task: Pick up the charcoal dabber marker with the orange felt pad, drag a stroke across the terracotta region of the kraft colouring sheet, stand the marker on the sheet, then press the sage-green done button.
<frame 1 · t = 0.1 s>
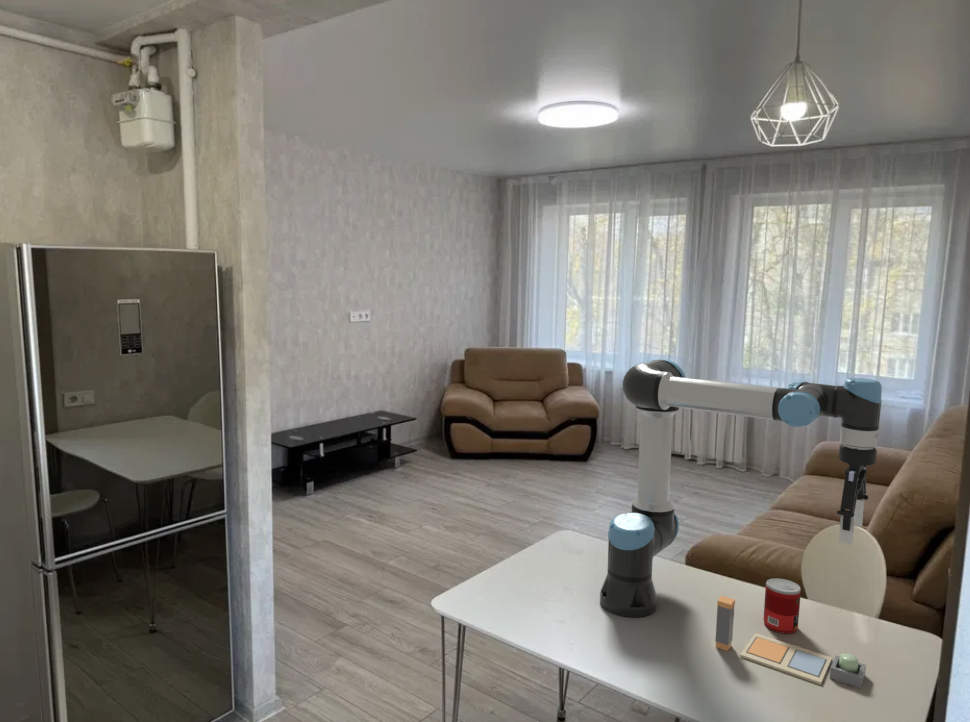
hand: (850, 533, 154), 28 cm above the table, fingers open, 13 cm apart
marker: (723, 646, 157), on the table
sheet: (785, 658, 152), on the table
done button: (848, 663, 145), point 3 cm above the table, slide at 0.0 cm
button collar: (847, 676, 145), on the table
canned food: (780, 626, 166), on the table
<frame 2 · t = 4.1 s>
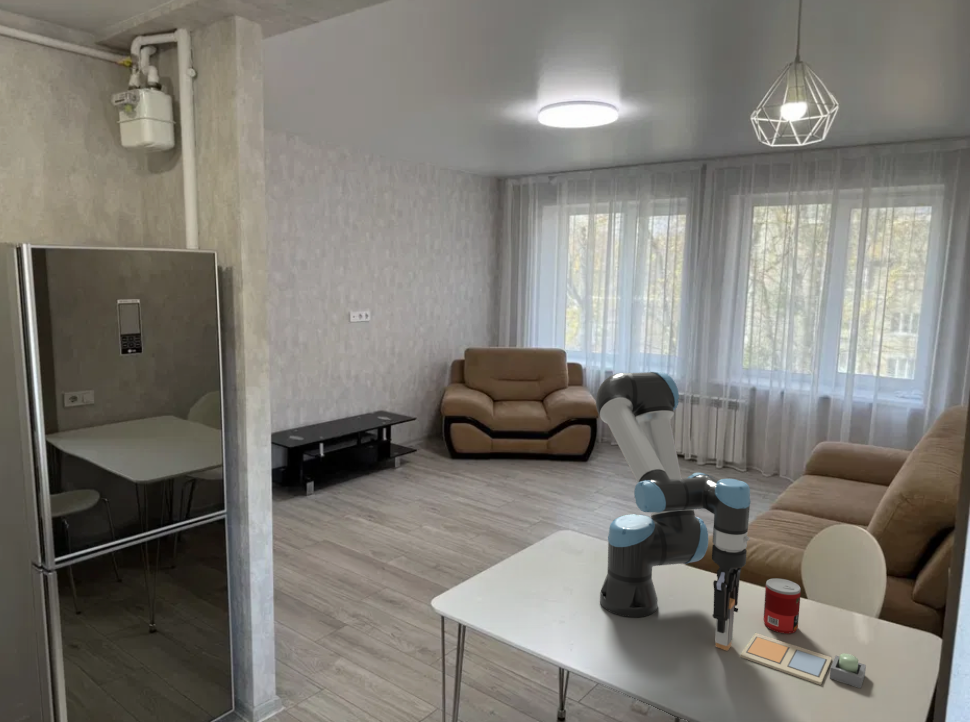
hand: (723, 639, 157), 2 cm above the table, fingers closed on marker, 3 cm apart
marker: (723, 646, 157), on the table, touching gripper
everything else where it was.
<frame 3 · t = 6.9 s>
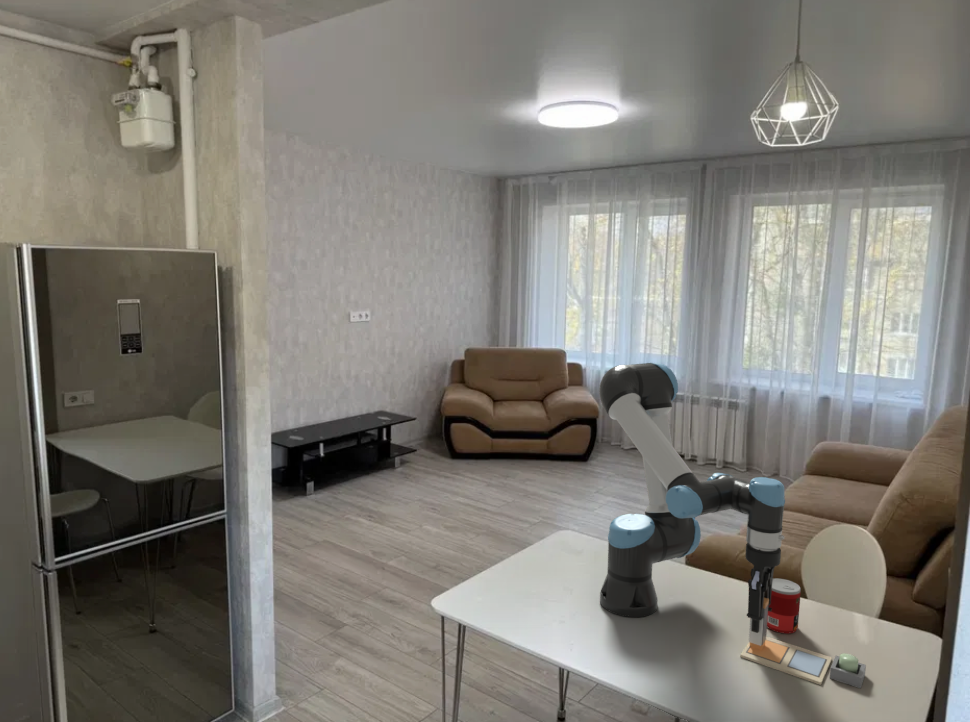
hand: (757, 639, 156), 2 cm above the table, fingers closed on marker, 3 cm apart
marker: (757, 646, 156), point 1 cm above the table, touching gripper, sheet
everything else where it was.
when the fingers open (3 cm above the table, at t = 10.0 s): marker drops 1 cm, resting on sheet.
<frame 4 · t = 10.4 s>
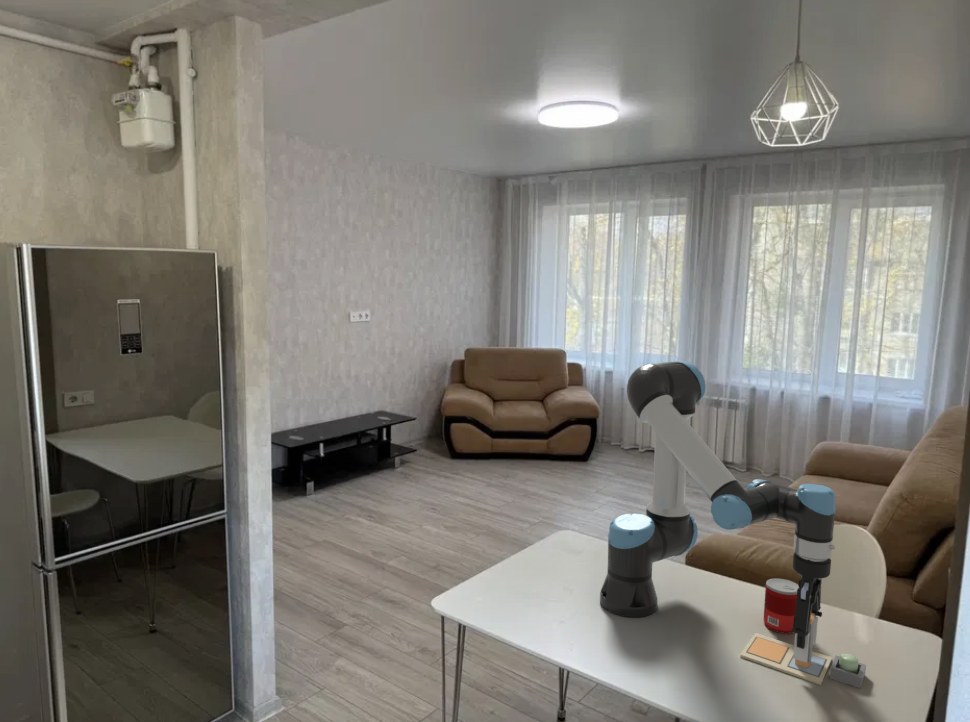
hand: (804, 650, 149), 4 cm above the table, fingers open, 8 cm apart
marker: (803, 663, 149), point 1 cm above the table, touching sheet
everything else where it was.
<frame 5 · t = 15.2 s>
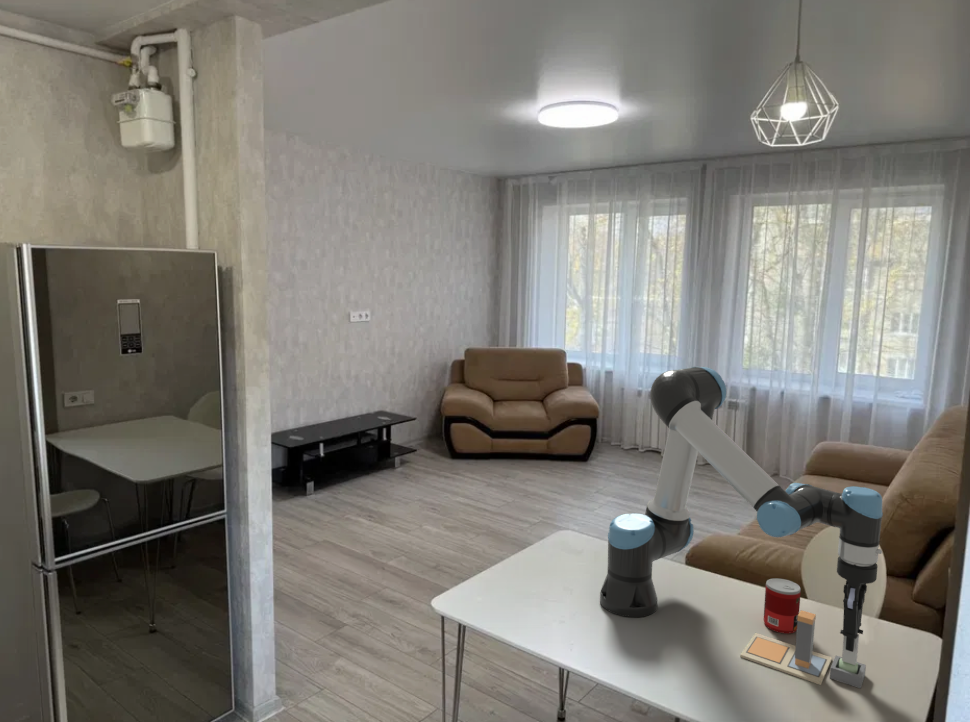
hand: (849, 661, 145), 4 cm above the table, fingers closed
done button: (848, 668, 145), point 2 cm above the table, slide at 1.0 cm, touching gripper
everything else where it was.
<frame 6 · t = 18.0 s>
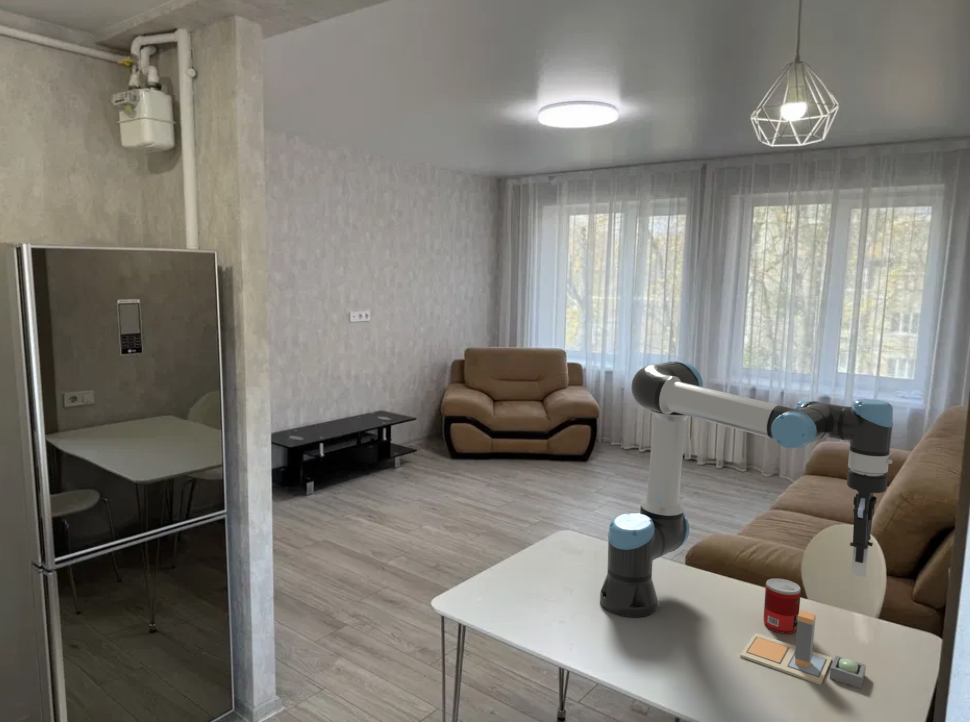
hand: (858, 574, 146), 22 cm above the table, fingers closed
done button: (848, 668, 145), point 2 cm above the table, slide at 1.2 cm
everything else where it was.
at the end: done button slide at 1.2 cm; marker inside the target area (3.9 cm from its centre), point 0.7 cm above the table; the gripper is holding nothing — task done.
